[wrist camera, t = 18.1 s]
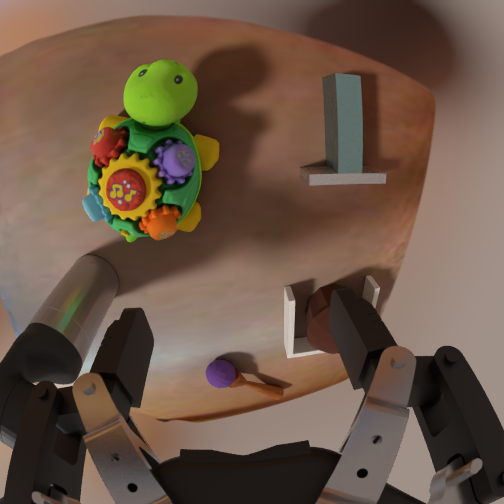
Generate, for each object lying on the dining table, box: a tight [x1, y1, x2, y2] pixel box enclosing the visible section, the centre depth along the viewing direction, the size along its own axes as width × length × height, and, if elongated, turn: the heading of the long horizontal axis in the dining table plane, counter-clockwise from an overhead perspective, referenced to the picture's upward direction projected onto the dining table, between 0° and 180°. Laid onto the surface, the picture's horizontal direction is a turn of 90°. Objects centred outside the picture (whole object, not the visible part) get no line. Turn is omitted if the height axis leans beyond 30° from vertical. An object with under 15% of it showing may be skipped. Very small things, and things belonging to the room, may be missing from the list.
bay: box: [284, 275, 380, 358], centre depth 47 cm, size 14×16×4 cm
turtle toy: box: [82, 59, 219, 242], centre depth 28 cm, size 17×23×12 cm
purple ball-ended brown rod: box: [206, 360, 284, 400], centre depth 54 cm, size 6×6×20 cm
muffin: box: [305, 284, 346, 354], centre depth 43 cm, size 12×11×10 cm
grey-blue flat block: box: [300, 73, 386, 186], centre depth 31 cm, size 14×11×5 cm
